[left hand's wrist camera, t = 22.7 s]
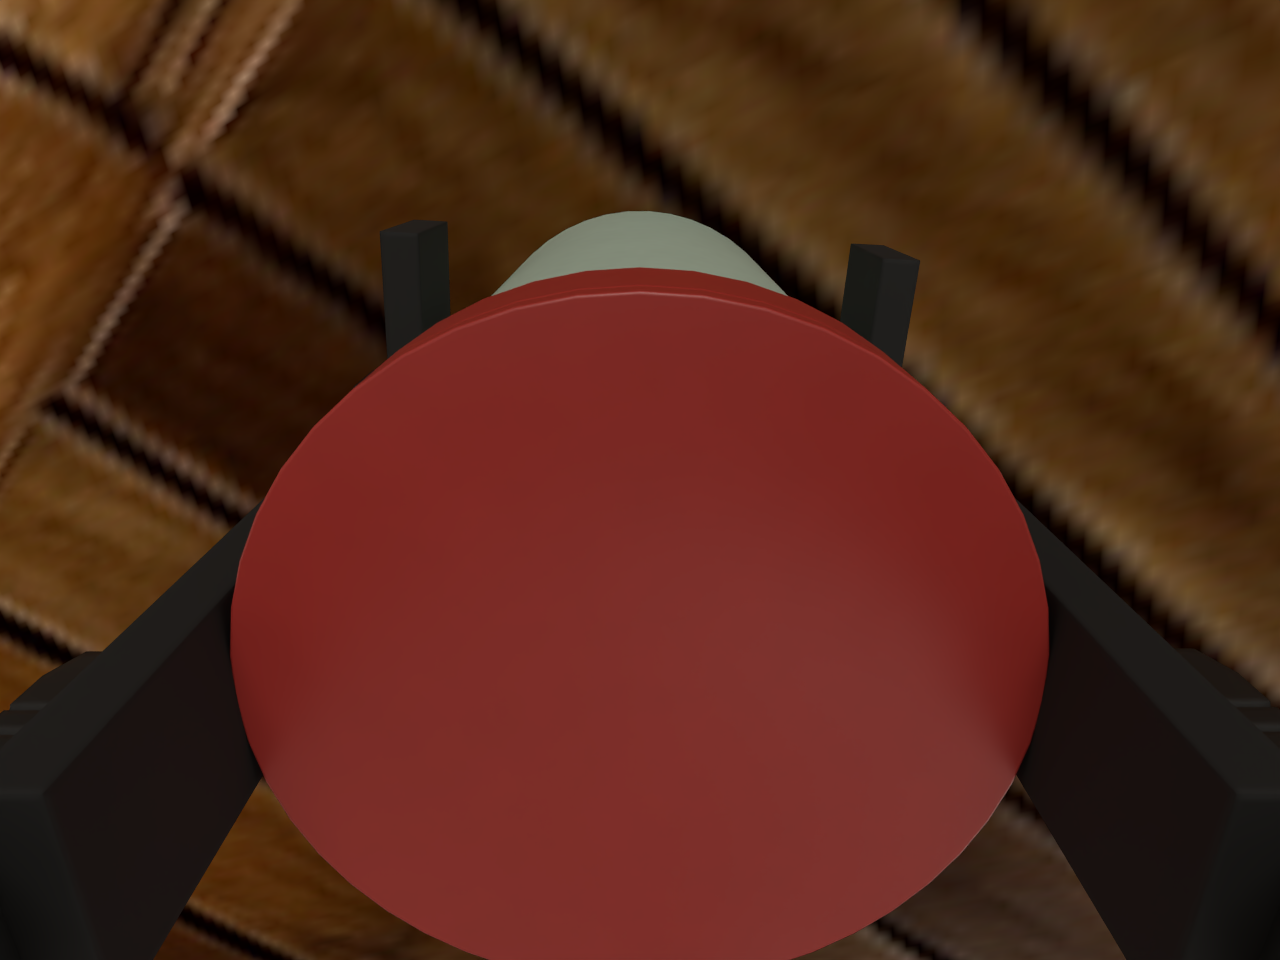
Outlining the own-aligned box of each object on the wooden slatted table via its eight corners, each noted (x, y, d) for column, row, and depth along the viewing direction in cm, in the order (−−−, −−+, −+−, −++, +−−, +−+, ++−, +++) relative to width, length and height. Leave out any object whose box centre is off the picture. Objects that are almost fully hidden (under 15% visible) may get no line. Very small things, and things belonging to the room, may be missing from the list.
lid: (254, 814, 13) (198, 911, 12) (336, 167, 10) (274, 173, 8) (846, 932, 14) (875, 1038, 13) (1118, 383, 11) (1207, 428, 9)
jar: (774, 517, 27) (923, 934, 13) (488, 502, 27) (316, 909, 13) (811, 220, 24) (1072, 339, 9) (485, 201, 24) (244, 291, 9)
